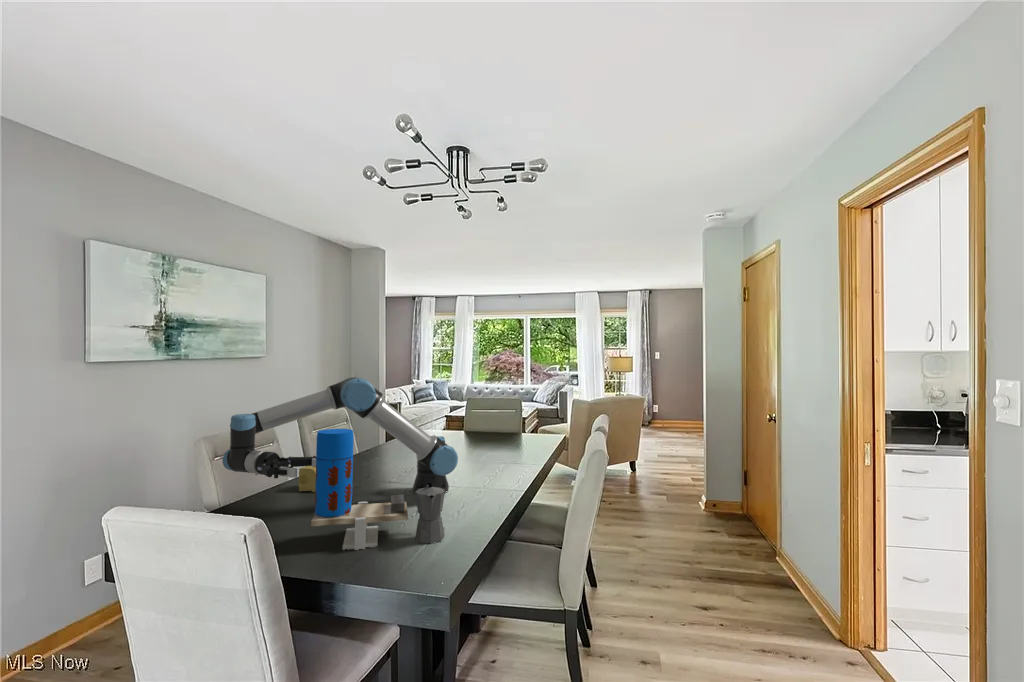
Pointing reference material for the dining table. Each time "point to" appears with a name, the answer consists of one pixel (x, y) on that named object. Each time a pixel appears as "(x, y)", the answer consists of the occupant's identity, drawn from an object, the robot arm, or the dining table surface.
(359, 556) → the dining table surface
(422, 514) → the coffeepot
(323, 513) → the thermos
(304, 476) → the cheese
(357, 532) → the fulcrum
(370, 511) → the beam
